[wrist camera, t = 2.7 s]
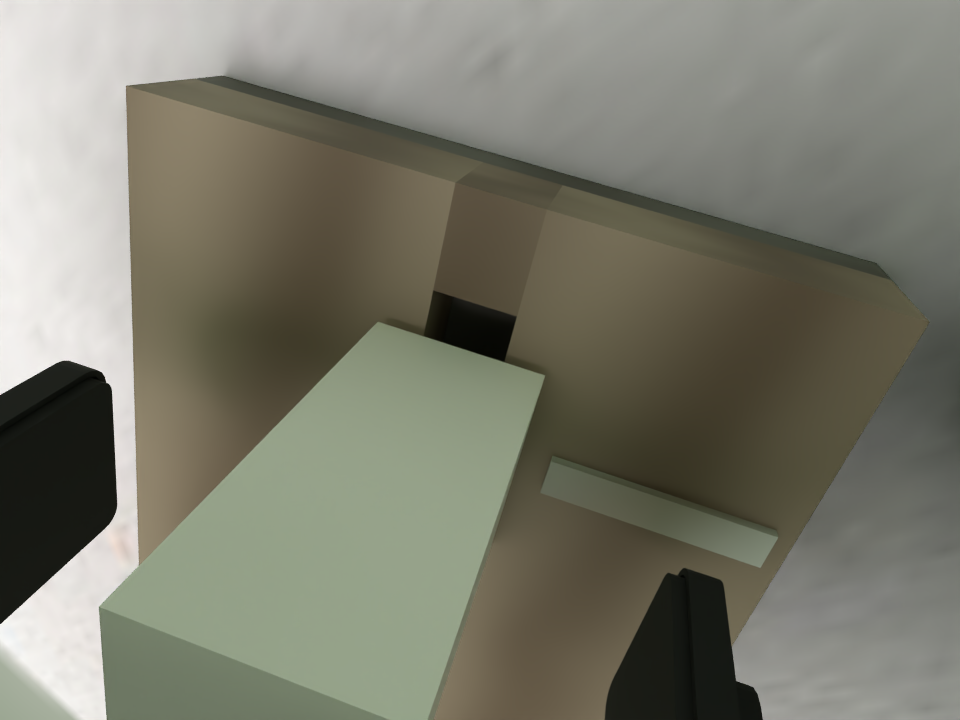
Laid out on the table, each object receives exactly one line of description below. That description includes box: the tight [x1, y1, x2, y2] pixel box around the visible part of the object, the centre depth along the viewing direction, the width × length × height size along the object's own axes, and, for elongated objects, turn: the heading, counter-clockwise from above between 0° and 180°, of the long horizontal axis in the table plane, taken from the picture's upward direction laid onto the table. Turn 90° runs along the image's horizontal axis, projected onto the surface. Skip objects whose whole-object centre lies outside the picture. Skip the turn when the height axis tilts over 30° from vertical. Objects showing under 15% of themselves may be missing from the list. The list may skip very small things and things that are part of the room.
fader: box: [99, 322, 545, 720], centre depth 11 cm, size 3×4×9 cm
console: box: [126, 76, 929, 720], centre depth 18 cm, size 14×24×3 cm, turn 167°
